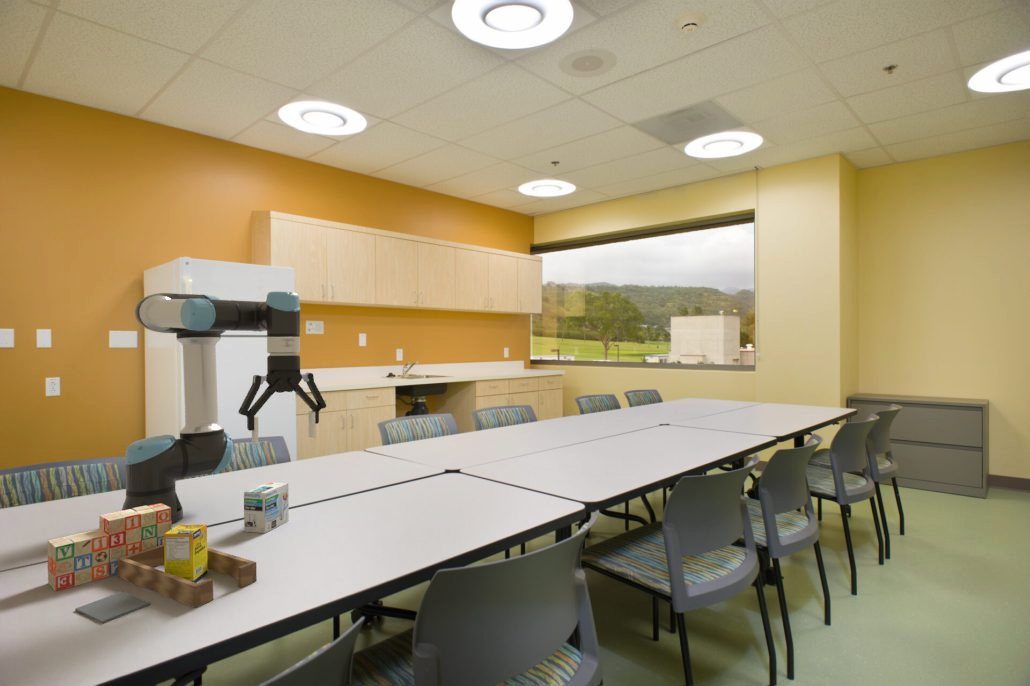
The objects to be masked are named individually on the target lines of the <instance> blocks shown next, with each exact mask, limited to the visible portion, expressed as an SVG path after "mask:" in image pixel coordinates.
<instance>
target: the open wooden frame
mask: <svg viewBox="0 0 1030 686" xmlns="http://www.w3.org/2000/svg"><path fill="white" fill-rule="evenodd" d="M207 559H208V560H207V561H208V570H212V571H215V572H218V573H221V574H223V575H227V576H230V577H233V578H236V579H238V580H237V582H238V583H237V584H238V585H237V586H238V587H237V588H244V587H246V586H248V585H251V584H253V583H256V582H257V577H258V576H257V561H253V560H250V559H247V558H244V557H240V556H236V555H234V554H230V553H226V552H223V551H220V550H216V549H213V548H211V547H207ZM163 564H164V544H163V545H160V546H157V547H154V548H151V549H148V550H144V551H141V552H138V553H135V554H132V555H129V556H126V557H122V558H119V559H118V574H117V578H119V579H121V580H124V581H127V582H128V583H132V584H134V585H136V586H140V587H142V588H144V589H147V590H150V591H152V592H155V593H156V594H159V595H161V596H162V595H163V596H165V597H166V598H170V599H173V600H175V601H177V602H180V603H182V604H185V605H188V606H191V607H192V608H198V607H201V606H202V605H205V604H207V603H210V602H212V601H214V579H212V578H208V579H205V580H203V581H200V582H198V583H197V582H196V583H194V582H192V581H189V580H186V579H183V578H180V577H177V576H175V575H172V574H169V573H166V572H165V571H162V570H160V569H158V568H154V567H157V566H160V565H163Z"/></svg>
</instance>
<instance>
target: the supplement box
mask: <svg viewBox="0 0 1030 686" xmlns="http://www.w3.org/2000/svg"><path fill="white" fill-rule="evenodd" d="M207 527H208V525H207V523H204V524H203V523H202V524H201V523H200V524H198V523H197V524H196V523H195V524H179V525H176V526H175V527H173V528H172V530H170V531H168V532H166V533H165V534H164V563H163V564H164V572H166V573H169V574H172V575H175V576H177V577H180V578H183V579H186V580H189V581H192V582H194V583H197V582H199V580H200V579H202V578H204V576H205V575H207V574H208V570H209V569H208V561H207V560H208V559H207V548H208V528H207Z"/></svg>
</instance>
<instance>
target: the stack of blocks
mask: <svg viewBox="0 0 1030 686" xmlns="http://www.w3.org/2000/svg"><path fill="white" fill-rule="evenodd" d="M98 522H99V524H98V525H99V527H98V529H94V530H93V529H92V530H90V531H85V532H80V533H75V534H71V535H66V536H63V537H62V536H61V537H56V538H54V539H48V540H47V583H48V584H49V585H50V587H51V588H52V590H54V591H55V592H57V591H60V590H65V589H67V588H71V587H76V586H79V585H82V584H83V585H84V584H87V583H90V582H92V581H93V582H94V581H98V580H101V579H104V578H105V579H106V578H108V577H111V576H115V575H118V559H119V558H122V557H126V556H129V555H132V554H135V553H138V552H141V551H144V550H148V549H151V548H154V547H157V546H160V545H163V544H164V534H165V533H166V532H168V531H170V530H172V529H173V528H172V521H171V508H170V507H168V506H166V505H164V504H162V503H159V504H155V505H149V506H141V507H136V508H132V509H128V510H123V511H121V510H119V511H115V512H110V513H105V514H100V515H99V521H98Z"/></svg>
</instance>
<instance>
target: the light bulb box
mask: <svg viewBox="0 0 1030 686" xmlns="http://www.w3.org/2000/svg"><path fill="white" fill-rule="evenodd" d="M289 502H290V501H289V483H287V482H286V483H285V482H272V481H268V482H266V483H262V484H260V485H258V486H256V487H253V488H251V489H247V490H246V491H244V492H243V524H244V525H243V532H248V533H259V534H266V533H268V532H270V531H272V530H274V529H276V528H278V527H280V526H282V525H283V524H286V523H287V522H289V520H290V519H289V517H290V516H289V515H290V514H289V510H290V508H289V505H290V504H289Z"/></svg>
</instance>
